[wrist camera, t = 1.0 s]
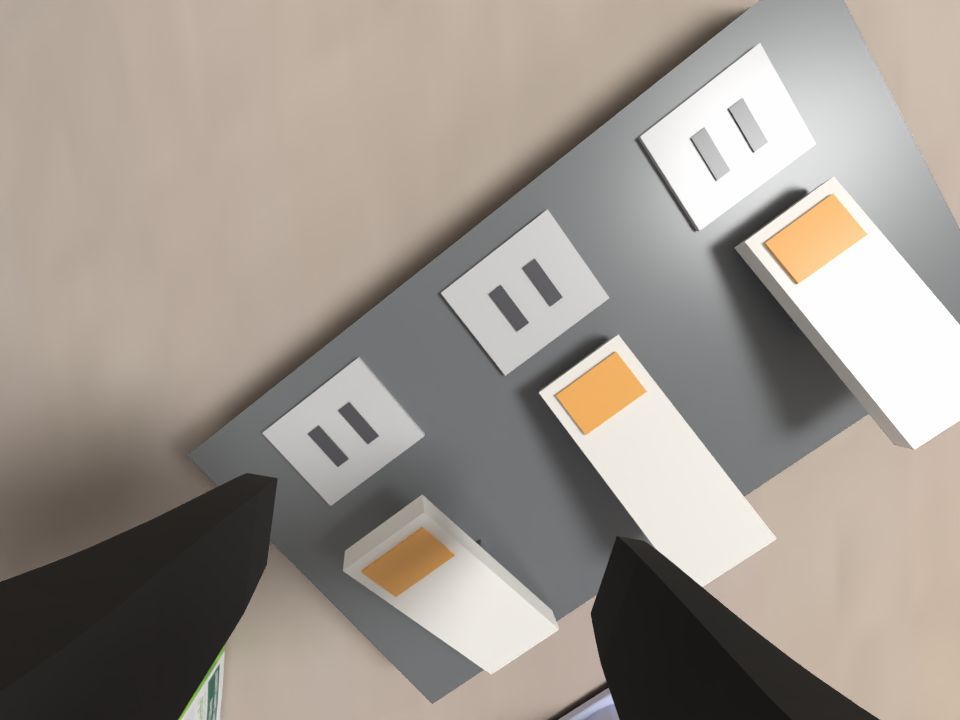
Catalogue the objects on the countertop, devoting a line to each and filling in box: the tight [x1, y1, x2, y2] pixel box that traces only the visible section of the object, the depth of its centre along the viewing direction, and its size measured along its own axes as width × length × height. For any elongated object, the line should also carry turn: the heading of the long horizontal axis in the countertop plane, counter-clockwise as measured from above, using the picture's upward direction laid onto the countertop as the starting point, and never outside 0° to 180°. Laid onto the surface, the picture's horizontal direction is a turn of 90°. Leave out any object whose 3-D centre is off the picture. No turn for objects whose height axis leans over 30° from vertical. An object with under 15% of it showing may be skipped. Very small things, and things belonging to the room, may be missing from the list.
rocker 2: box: [734, 177, 960, 450], centre depth 14 cm, size 8×3×1 cm, turn 37°
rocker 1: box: [343, 495, 559, 674], centre depth 16 cm, size 8×3×1 cm, turn 38°
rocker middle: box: [539, 335, 776, 587], centre depth 15 cm, size 8×3×1 cm, turn 37°
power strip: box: [187, 0, 960, 704], centre depth 18 cm, size 14×26×4 cm, turn 127°
